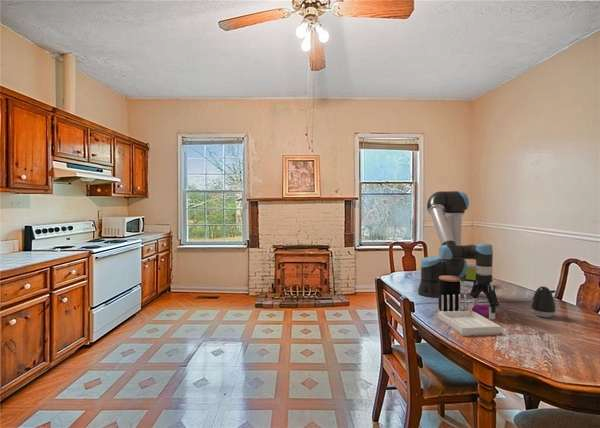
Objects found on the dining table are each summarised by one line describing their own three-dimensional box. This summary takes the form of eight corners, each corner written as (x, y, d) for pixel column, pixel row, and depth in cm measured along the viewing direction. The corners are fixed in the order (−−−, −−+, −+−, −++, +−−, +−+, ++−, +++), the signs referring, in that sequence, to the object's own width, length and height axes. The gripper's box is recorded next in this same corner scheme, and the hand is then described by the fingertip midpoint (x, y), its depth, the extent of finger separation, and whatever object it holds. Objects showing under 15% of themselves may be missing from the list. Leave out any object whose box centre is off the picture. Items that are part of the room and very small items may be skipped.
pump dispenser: (549, 320, 167) (549, 290, 166) (526, 314, 176) (527, 285, 175) (560, 317, 172) (561, 287, 171) (538, 311, 181) (538, 283, 180)
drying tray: (437, 318, 171) (437, 311, 171) (471, 317, 173) (471, 310, 173) (462, 335, 149) (462, 328, 149) (501, 334, 151) (501, 326, 151)
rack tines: (437, 317, 173) (437, 294, 173) (467, 316, 175) (468, 293, 174) (439, 318, 171) (439, 295, 171) (470, 317, 173) (470, 294, 172)
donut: (468, 314, 177) (468, 306, 177) (478, 310, 183) (478, 302, 183) (489, 320, 169) (489, 311, 169) (498, 315, 175) (498, 307, 175)
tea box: (484, 285, 237) (484, 264, 236) (482, 288, 228) (483, 266, 228) (460, 282, 245) (460, 262, 244) (458, 285, 236) (458, 264, 236)
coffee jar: (459, 308, 186) (459, 276, 186) (461, 314, 176) (461, 280, 176) (437, 306, 190) (438, 274, 189) (439, 312, 180) (439, 279, 179)
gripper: (463, 269, 188) (462, 307, 188) (492, 279, 163) (492, 323, 163) (476, 268, 188) (475, 306, 189) (507, 279, 163) (507, 322, 164)
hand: (483, 314), depth 176 cm, fingers open, 13 cm apart
